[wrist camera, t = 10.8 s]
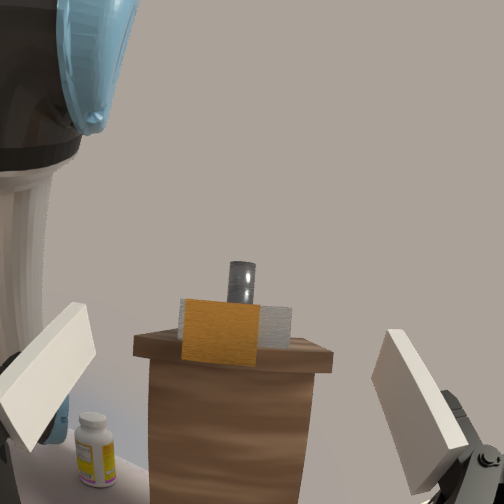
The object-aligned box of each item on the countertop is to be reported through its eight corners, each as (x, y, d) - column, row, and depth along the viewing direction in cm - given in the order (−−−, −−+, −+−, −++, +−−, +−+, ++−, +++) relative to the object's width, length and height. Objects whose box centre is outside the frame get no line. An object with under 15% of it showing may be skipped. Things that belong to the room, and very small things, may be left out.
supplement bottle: (113, 471, 43) (110, 410, 46) (119, 489, 38) (115, 424, 40) (78, 469, 40) (73, 407, 42) (80, 488, 34) (73, 421, 37)
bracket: (316, 375, 12) (325, 207, 13) (124, 356, 12) (142, 196, 14) (277, 338, 32) (282, 270, 33) (199, 332, 32) (205, 265, 33)
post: (285, 609, 15) (333, 352, 21) (149, 595, 15) (134, 335, 21) (277, 541, 29) (302, 338, 35) (174, 532, 29) (177, 328, 35)
